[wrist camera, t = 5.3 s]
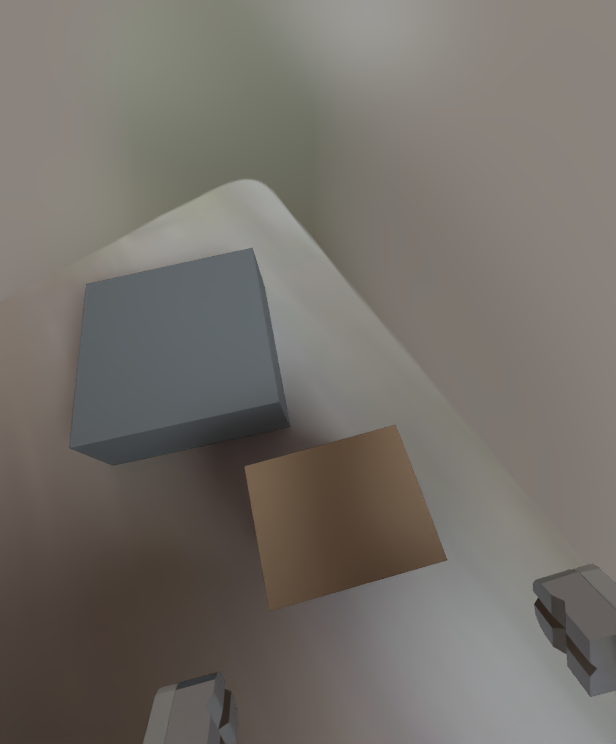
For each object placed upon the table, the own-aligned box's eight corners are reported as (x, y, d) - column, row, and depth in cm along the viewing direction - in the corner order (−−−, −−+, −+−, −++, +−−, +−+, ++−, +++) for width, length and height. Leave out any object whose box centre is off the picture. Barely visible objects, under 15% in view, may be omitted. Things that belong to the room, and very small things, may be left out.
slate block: (116, 466, 21) (69, 448, 17) (122, 322, 26) (86, 284, 22) (291, 428, 21) (279, 401, 17) (265, 291, 26) (252, 247, 22)
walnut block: (301, 589, 17) (269, 611, 10) (283, 501, 19) (244, 466, 12) (406, 559, 17) (447, 559, 10) (377, 474, 19) (395, 424, 12)
